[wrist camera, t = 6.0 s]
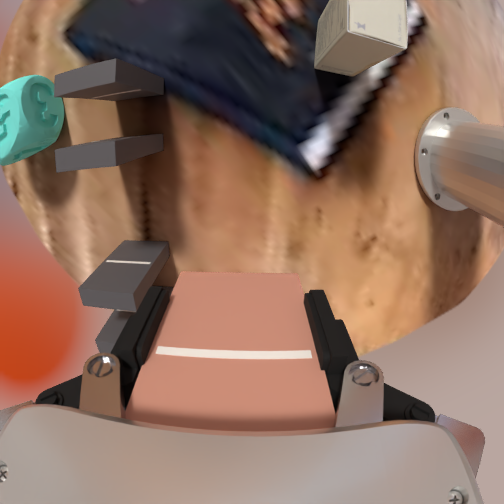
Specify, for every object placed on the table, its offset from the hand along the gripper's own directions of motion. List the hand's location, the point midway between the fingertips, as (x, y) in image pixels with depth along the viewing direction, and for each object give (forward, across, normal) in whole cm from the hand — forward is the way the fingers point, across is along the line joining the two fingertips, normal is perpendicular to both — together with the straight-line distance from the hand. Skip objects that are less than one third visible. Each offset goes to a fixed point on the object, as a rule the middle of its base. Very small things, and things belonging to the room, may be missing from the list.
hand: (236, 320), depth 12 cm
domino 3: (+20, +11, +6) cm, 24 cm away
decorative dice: (+21, +25, -12) cm, 35 cm away
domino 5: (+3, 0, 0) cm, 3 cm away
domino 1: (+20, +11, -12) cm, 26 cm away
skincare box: (+20, -9, -17) cm, 28 cm away
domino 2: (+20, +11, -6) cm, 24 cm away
